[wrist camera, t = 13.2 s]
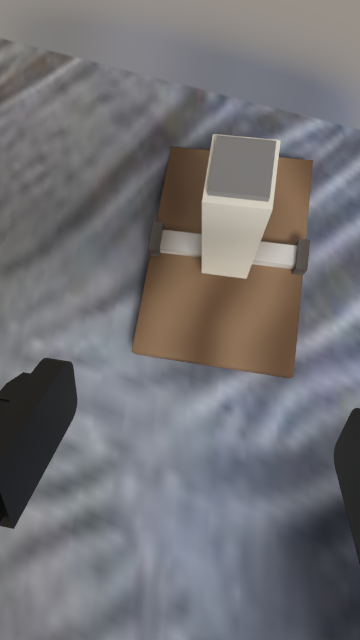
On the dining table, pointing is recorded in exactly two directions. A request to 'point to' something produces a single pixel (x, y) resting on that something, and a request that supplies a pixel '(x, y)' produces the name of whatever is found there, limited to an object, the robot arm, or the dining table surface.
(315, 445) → the dining table surface
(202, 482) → the dining table surface
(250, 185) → the rail module
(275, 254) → the rail board
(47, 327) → the dining table surface
